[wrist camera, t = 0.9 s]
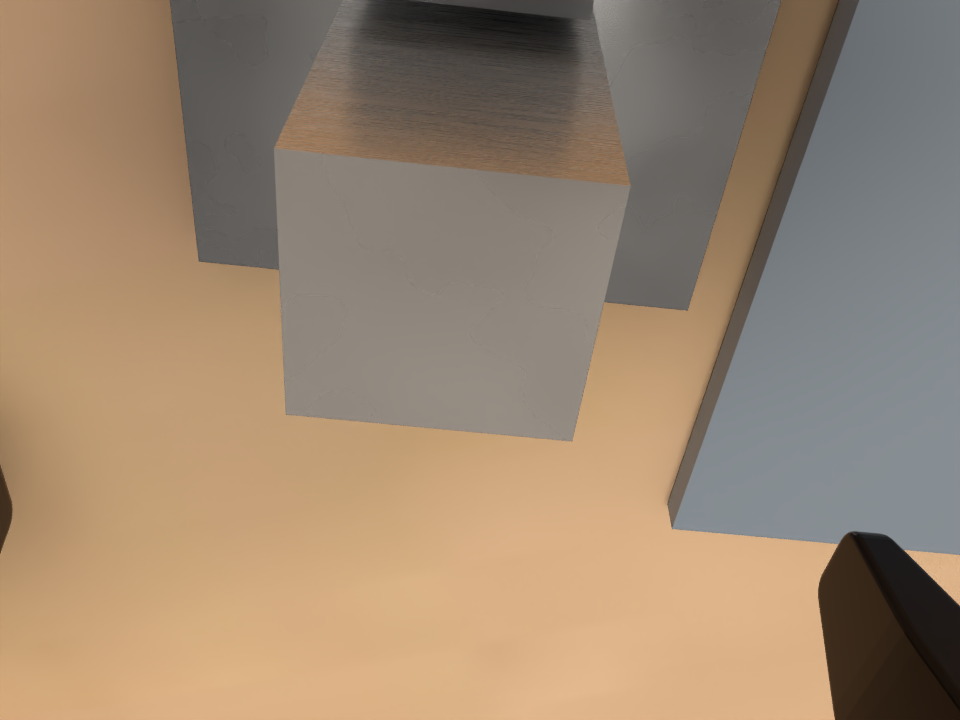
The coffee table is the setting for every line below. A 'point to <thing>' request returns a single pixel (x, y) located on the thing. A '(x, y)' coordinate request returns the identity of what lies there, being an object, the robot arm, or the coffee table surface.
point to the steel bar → (448, 219)
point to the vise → (616, 5)
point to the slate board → (848, 308)
